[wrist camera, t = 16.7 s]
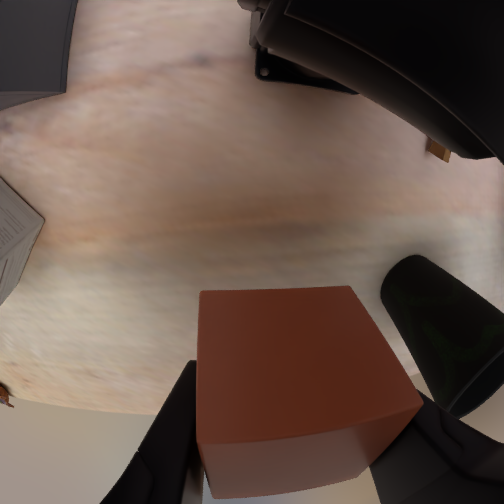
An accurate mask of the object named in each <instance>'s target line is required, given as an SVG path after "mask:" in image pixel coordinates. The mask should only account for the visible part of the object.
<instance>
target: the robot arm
mask: <svg viewBox="0 0 504 504" xmlns="http://www.w3.org/2000/svg"><path fill="white" fill-rule="evenodd" d="M237 2H238V3H239V5H240V6H241V8H242V9H245V10H249V11H252V16H251V28H250V40H249V45H250V46H251V47H252V48H256V59H255V76H256V78H257V79H259V80H261V81H269V82H279V83H287V84H295V85H302V86H309V87H315V88H321V89H326V90H332V91H337V92H342V93H347V94H351V95H357V94H362V95H363V96H365V97H367V98H369V99H371V100H372V101H374V102H376V103H378V104H379V105H381V106H383V107H384V108H386V109H388V110H389V111H391V112H392V113H394V114H396V115H397V116H399V117H400V118H402V119H403V120H405V121H407V122H408V123H410V124H411V125H413V126H414V127H416V128H417V129H418V130H420V131H421V132H423V133H424V134H426V135H427V136H428V137H430V138H431V139H432V140H434V141H435V142H437V143H438V144H440V145H442V146H443V147H445V148H446V149H448V150H449V151H451V152H454V153H456V154H457V155H458V156H460V157H462V158H468V159H476V160H478V159H484V158H491V157H497V158H498V159H499V160H500V162H501V163H502V164H503V165H504V0H237ZM261 69H266V70H267V71H268V75H267V76H262V75H261V74H260V70H261ZM196 373H197V360H190V361H189V362H188V363H187V365H186V366H185V368H184V370H183V371H182V373H181V375H180V377H179V378H178V380H177V382H176V384H175V385H174V387H173V389H172V391H171V392H170V394H169V396H168V397H167V399H166V401H165V403H164V404H163V406H162V408H161V410H160V411H159V413H158V415H157V416H156V418H155V420H154V422H153V423H152V425H151V427H150V429H149V430H148V432H147V434H146V436H145V437H144V439H143V441H142V442H141V444H140V446H139V448H138V451H139V452H138V451H137V452H136V453H135V454H134V456H133V458H132V460H131V461H130V463H129V464H128V466H127V468H126V469H125V471H124V472H123V474H122V475H121V477H120V478H119V480H118V481H117V482H116V484H115V485H114V486H113V488H112V489H111V490H110V491H109V493H108V494H107V495H106V496H105V498H104V499H103V500H102V501H101V503H100V504H202V496H203V480H204V467H203V464H202V460H201V456H200V453H199V449H198V445H197V441H196ZM416 390H417V389H416ZM417 391H418V393H419V395H420V396H421V398H422V400H423V405H422V407H421V408H420V409H419V411H418V412H417V413H416V414H415V416H414V417H413V418H412V419H411V421H410V422H409V423H408V424H407V425H406V427H405V428H404V429H403V430H402V431H401V433H400V434H399V435H398V436H397V437H396V438H395V439H394V440H393V442H392V443H391V444H390V445H389V446H388V447H387V448H386V449H385V450H384V451H383V452H382V453H381V454H380V455H379V456H378V457H377V459H376V460H375V461H374V462H373V463H372V464H371V465H369V468H370V471H371V474H372V477H373V480H374V483H375V486H376V490H377V493H378V496H379V499H380V503H381V504H504V443H500V442H498V441H495V440H493V439H492V438H490V437H488V436H486V435H484V434H483V433H481V432H479V431H477V430H475V429H474V428H472V427H470V426H469V425H467V424H465V423H464V422H462V421H461V420H459V419H458V418H456V417H455V416H453V415H452V414H450V413H449V412H447V411H446V410H445V409H443V408H442V407H440V406H439V405H438V404H436V403H435V402H434V401H432V400H431V399H430V398H428V397H427V396H426V395H424V394H423V393H421V392H420V391H419V390H417Z"/></svg>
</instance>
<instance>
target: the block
mask: <svg viewBox="0 0 504 504" xmlns="http://www.w3.org/2000/svg"><path fill="white" fill-rule="evenodd" d="M422 405H423V400H422V398H421V396H420V395H419V393H418V391H417V390H416V388H415V386H414V385H413V383H412V381H411V380H410V378H409V376H408V375H407V373H406V371H405V370H404V368H403V366H402V365H401V363H400V361H399V360H398V358H397V357H396V355H395V353H394V352H393V350H392V349H391V347H390V346H389V344H388V342H387V341H386V339H385V338H384V336H383V335H382V333H381V331H380V330H379V328H378V327H377V325H376V324H375V322H374V321H373V319H372V318H371V316H370V315H369V313H368V312H367V310H366V309H365V307H364V306H363V304H362V303H361V301H360V300H359V298H358V297H357V295H356V294H355V293H354V291H353V290H352V288H351V287H350V286H331V287H311V288H287V289H256V290H203V291H200V293H199V313H198V337H197V373H196V441H197V445H198V449H199V453H200V456H201V460H202V464H203V467H204V471H205V474H206V478H207V481H208V485H209V488H210V491H211V494H212V497H213V498H214V499H229V498H247V497H258V496H268V495H276V494H283V493H289V492H296V491H301V490H307V489H312V488H317V487H322V486H326V485H330V484H334V483H338V482H342V481H346V480H350V479H353V478H356V477H358V476H359V475H360V474H361V473H362V472H363V471H364V470H365V469H366V468H367V467H368V466H369V465H371V464H372V463H373V462H374V461H375V460H376V459H377V457H378V456H379V455H380V454H381V453H382V452H383V451H384V450H385V449H386V448H387V447H388V446H389V445H390V444H391V443H392V442H393V440H394V439H395V438H396V437H397V436H398V435H399V434H400V433H401V431H402V430H403V429H404V428H405V427H406V425H407V424H408V423H409V422H410V421H411V419H412V418H413V417H414V416H415V414H416V413H417V412H418V411H419V409H420V408H421V407H422Z"/></svg>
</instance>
